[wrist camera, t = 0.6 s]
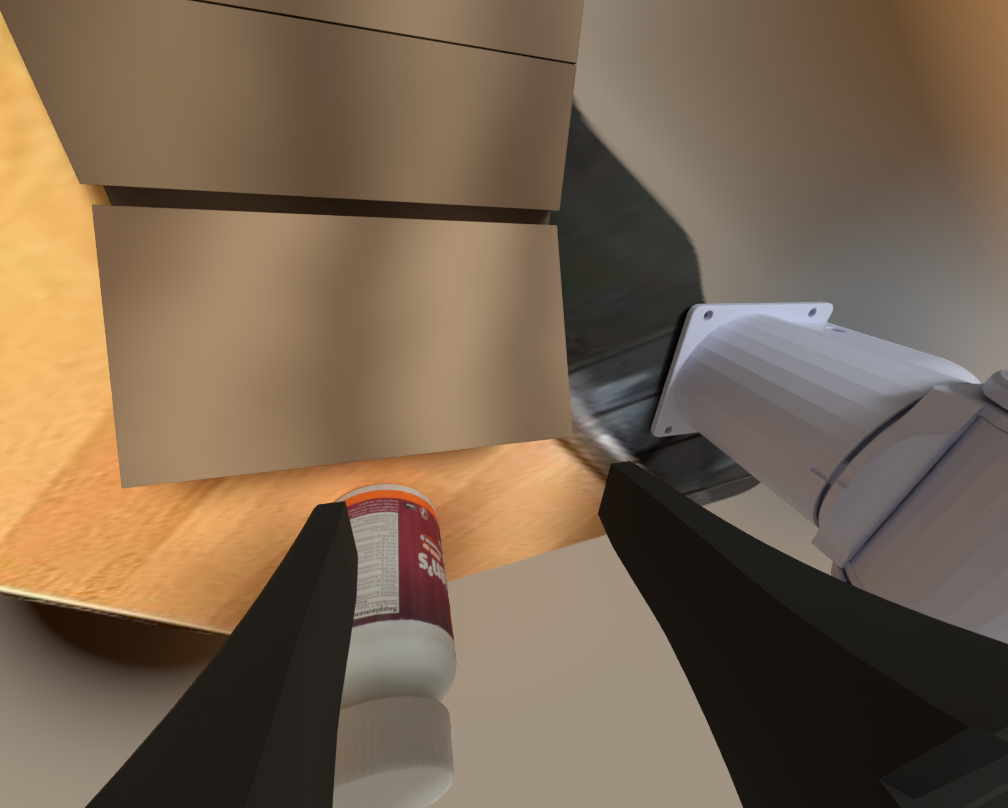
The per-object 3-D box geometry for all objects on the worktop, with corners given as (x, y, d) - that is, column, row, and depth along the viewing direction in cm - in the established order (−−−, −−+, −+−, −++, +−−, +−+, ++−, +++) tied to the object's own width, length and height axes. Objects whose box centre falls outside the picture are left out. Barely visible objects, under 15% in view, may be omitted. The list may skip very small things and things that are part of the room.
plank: (545, 239, 15) (556, 225, 14) (560, 433, 15) (572, 436, 14) (125, 225, 11) (91, 204, 10) (151, 479, 11) (121, 488, 10)
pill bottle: (448, 535, 22) (489, 789, 13) (349, 569, 22) (316, 865, 12) (418, 463, 19) (443, 736, 10) (298, 501, 18) (199, 836, 9)
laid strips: (581, -115, 10) (601, -148, 9) (545, 225, 14) (557, 228, 14) (-108, -324, 7) (-195, -413, 6) (118, 207, 11) (91, 209, 10)
